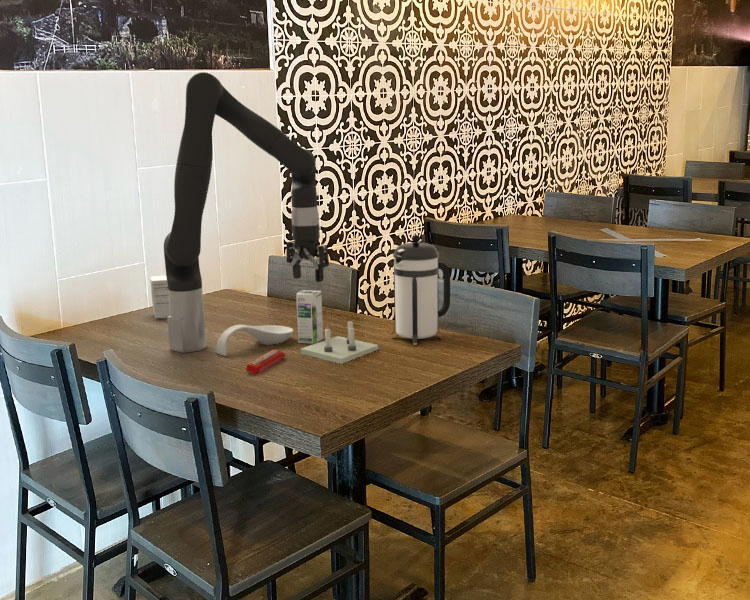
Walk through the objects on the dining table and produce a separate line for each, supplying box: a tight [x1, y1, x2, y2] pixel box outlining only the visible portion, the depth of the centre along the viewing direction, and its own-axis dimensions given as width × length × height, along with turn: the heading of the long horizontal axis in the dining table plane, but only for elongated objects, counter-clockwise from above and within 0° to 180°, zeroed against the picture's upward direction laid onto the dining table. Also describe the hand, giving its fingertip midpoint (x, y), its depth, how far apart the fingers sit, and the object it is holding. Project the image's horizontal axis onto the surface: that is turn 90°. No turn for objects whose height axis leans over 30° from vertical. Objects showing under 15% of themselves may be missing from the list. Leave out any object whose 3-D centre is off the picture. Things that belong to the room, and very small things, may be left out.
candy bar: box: [245, 349, 286, 375], centre depth 214 cm, size 16×4×3 cm, turn 156°
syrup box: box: [295, 289, 324, 345], centre depth 234 cm, size 6×6×14 cm
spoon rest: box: [215, 324, 294, 357], centre depth 232 cm, size 24×12×7 cm, turn 134°
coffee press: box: [390, 234, 451, 344], centre depth 233 cm, size 17×16×30 cm
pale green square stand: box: [300, 320, 380, 365], centre depth 224 cm, size 15×15×8 cm
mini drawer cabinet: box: [149, 274, 170, 320], centre depth 266 cm, size 7×7×13 cm
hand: (308, 280), depth 232 cm, fingers open, 8 cm apart
